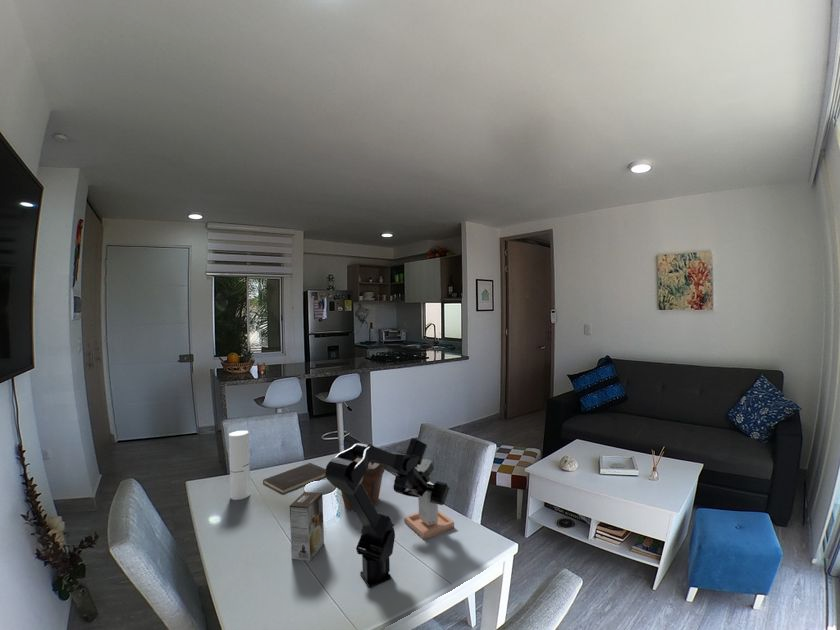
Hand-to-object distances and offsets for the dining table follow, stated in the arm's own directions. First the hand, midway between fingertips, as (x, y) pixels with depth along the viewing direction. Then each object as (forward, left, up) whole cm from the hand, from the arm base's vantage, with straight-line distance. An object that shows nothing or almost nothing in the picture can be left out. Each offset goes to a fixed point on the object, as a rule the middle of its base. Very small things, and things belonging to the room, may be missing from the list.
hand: (430, 498), depth 132 cm
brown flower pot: (-13, +28, -9) cm, 32 cm away
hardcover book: (-28, +63, -9) cm, 70 cm away
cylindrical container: (-51, +61, -9) cm, 80 cm away
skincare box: (-1, 0, -7) cm, 7 cm away
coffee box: (-39, +9, -9) cm, 41 cm away
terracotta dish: (-1, 0, -8) cm, 9 cm away
